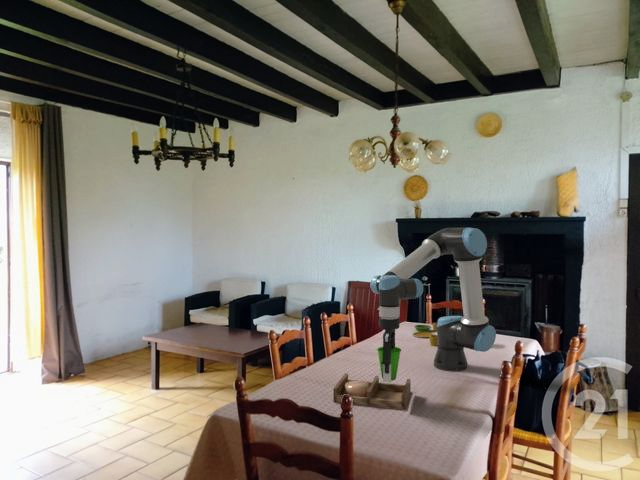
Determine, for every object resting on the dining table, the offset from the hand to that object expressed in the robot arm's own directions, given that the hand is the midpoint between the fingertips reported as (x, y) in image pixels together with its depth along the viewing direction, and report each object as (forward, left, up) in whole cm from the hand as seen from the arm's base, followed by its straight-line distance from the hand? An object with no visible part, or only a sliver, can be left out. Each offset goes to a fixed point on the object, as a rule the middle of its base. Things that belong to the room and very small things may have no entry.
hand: (389, 377), depth 174 cm
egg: (+12, 0, -8) cm, 15 cm away
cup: (0, 0, -1) cm, 1 cm away
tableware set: (-12, -105, -10) cm, 106 cm away
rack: (+6, 0, -9) cm, 11 cm away
